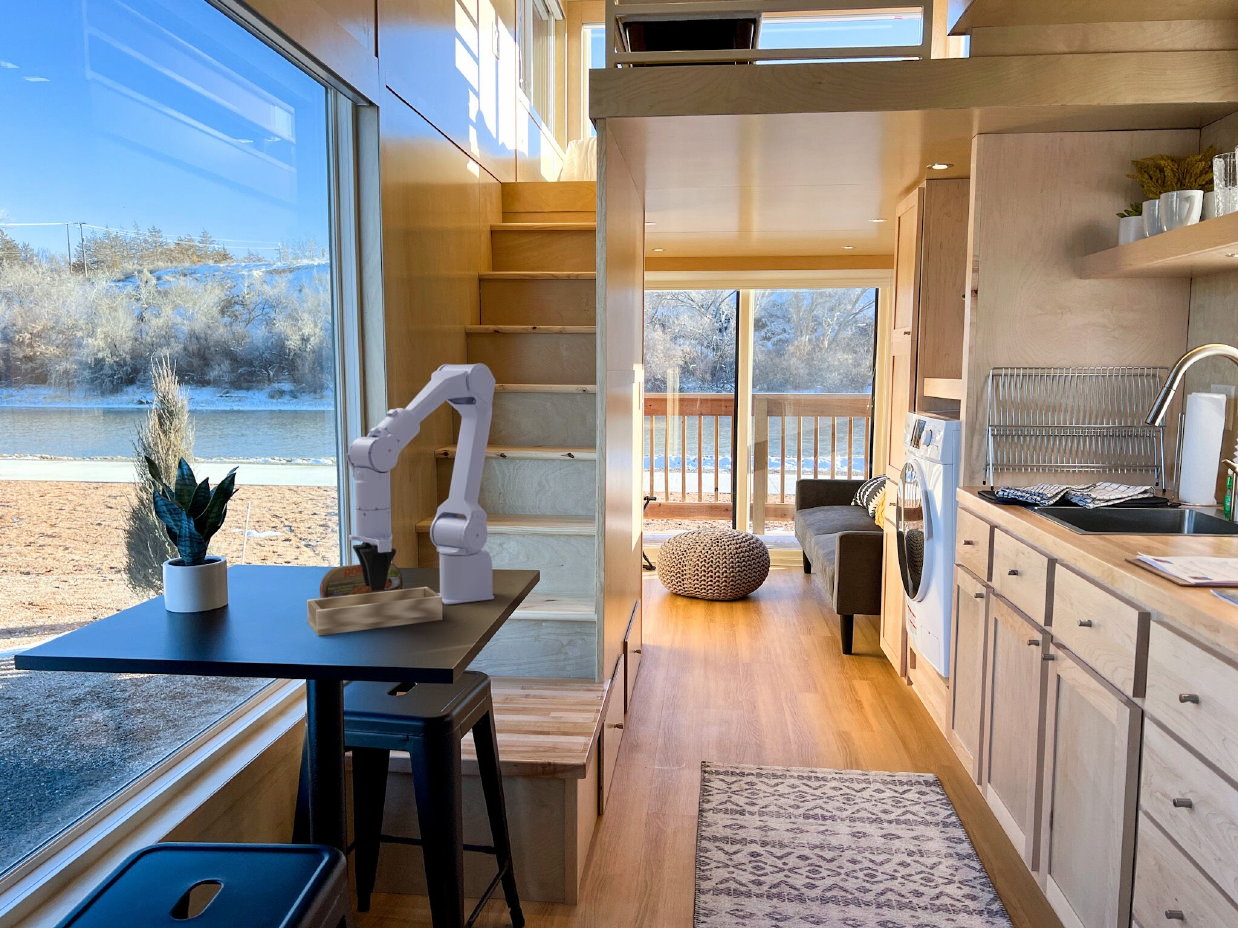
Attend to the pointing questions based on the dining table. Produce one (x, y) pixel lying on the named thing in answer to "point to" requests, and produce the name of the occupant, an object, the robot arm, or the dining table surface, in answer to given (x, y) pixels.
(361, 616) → the crate
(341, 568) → the tin
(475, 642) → the dining table surface
